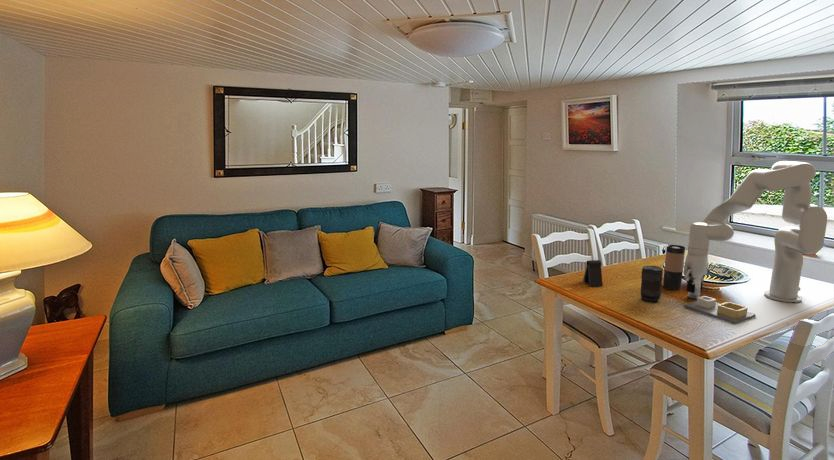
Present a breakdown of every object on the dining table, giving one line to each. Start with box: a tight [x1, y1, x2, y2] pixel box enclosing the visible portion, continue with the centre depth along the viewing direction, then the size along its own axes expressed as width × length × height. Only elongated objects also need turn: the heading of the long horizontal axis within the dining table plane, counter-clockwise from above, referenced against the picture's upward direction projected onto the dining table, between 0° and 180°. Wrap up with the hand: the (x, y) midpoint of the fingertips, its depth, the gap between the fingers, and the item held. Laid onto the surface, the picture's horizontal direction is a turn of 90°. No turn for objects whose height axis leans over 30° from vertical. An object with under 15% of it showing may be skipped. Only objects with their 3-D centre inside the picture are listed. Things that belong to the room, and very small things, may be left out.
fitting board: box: [683, 295, 757, 325], centre depth 178 cm, size 14×20×4 cm
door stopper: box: [582, 259, 604, 288], centre depth 214 cm, size 9×6×12 cm, turn 3°
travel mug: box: [662, 244, 686, 291], centre depth 206 cm, size 8×8×20 cm
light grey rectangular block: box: [687, 275, 702, 299], centre depth 193 cm, size 4×4×10 cm
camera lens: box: [640, 265, 664, 304], centre depth 191 cm, size 8×8×15 cm
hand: (694, 290), depth 194 cm, fingers closed on light grey rectangular block, 4 cm apart
